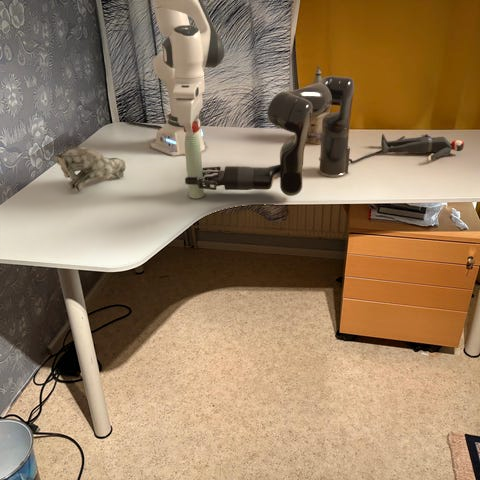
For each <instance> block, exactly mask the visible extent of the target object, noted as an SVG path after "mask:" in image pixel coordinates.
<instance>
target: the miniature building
mask: <svg viewBox="0 0 480 480" xmlns="http://www.w3.org/2000/svg"><path fill="white" fill-rule="evenodd" d="M320 67H321V66H320V65H317V66H316V68H317V69H316V71H315V72H314V75H315V76H314V79H313V81H312V83H310V84H309V85H311V84H315V83H318V82H319V81H320V80H322V79H323V78H322V71H321V70H320ZM332 106H333V105H330V107H329V108H328V110H327V111H325V112H324V113H322V114H320V115H318V116H316V117H312V121H311V125H310V129H309V133H308V137H307V141H306V143H309V144H314V145H321V135H322V120H323V117H324V116H325V115H327V114H330V113H331V108H332Z"/></svg>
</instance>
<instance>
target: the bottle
mask: <svg viewBox="0 0 480 480" xmlns="http://www.w3.org/2000/svg"><path fill="white" fill-rule="evenodd" d="M184 156H185V164H186V177H197V178H198V177H203V175H202V168H203V165H202V162H203V161H202V151H201V147H200V139H199V136H198V134H197V132H194V133H193V135H192V136H185V155H184ZM187 189H188V197H189V198H190V199H200V198H203V197H204V196H205V192H204V190H205V189H202V188H198V186H197V185H190V184H187Z"/></svg>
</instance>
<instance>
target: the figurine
mask: <svg viewBox="0 0 480 480" xmlns="http://www.w3.org/2000/svg"><path fill="white" fill-rule="evenodd" d="M54 160H55V163H57V165H59V166H60V170H61V171H62V173H63V176H64V177H65V178H67V179H68V178H69V179H70V180H71V181H70V182H69V183H68V186H69V188H70V189H71V190H76V192H77V193H81V192H82V187H84V185H85V184H87V183H88V182H90V181H92V180H94V179H96V180H108V179H109V178H111V176H113V177H118V178H124V174H125V173H124V172H125V171H126V169H127V166H126V161H125V160H124V159H121V158H118V157H111V158H110V157H106V156H104V155H103V154H102V153H100V152H98V151H97V150H95V149H93V148H89V147H83V146H72V147H69V148H67V149H65V150H64V151H63V152H58V153H57V154H56V155H55V156H54ZM76 172H78V173H76Z"/></svg>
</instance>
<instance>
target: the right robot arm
mask: <svg viewBox="0 0 480 480" xmlns="http://www.w3.org/2000/svg"><path fill="white" fill-rule="evenodd" d="M310 84H311V85H310ZM310 84H308V85H306V86H304V87H301V88H297V89H294V90H285V91H280V92H278V93H277V94H275V96H274V97H272V99H271V100H270V102H269V104H268V106H267V110H266V116H267V119H268V121H269V122H270V123H271V124H272V125H273V126H275V127H277V128H280V129H282V130H285V131H287V132H290V133H294V134H293V136H292V137H290V138H289V139H287V140H286V141H285V142H284V143H283V144H282V146H281V148H280V151H279V164H276V165H271V166H268V167H259V166H258V167H256V166H255V167H254V166H241V165H240V166H237V165H236V166H234V165H226V166H225V167H224V170H221V166H208V167H202V175H203V177H198V178H197V177H187V176H186V177H185V178H184V183H185V184H184V185H188V184H190V185H197V186H198V188H202V189H204V190H210V191H211V190H212V191H216V190H217V187H220V186H223V188H224V190H226V191H252V190H255V191H256V190H257V191H258V190H260V191H261V190H263V191H265V190H266V191H267V190H270V189H271V188H272V187H273V184H274V181H275V180H278V179H279V183H280V184H279V187H280V190H281V192H282V193H283V194H284V195H286V196H287V197H288V196H289V197H295V196H297V195H299V194H300V193H301V192H302V189H303V166H304V155H305V154H304V153H305V148H306V143H307V137H308V133H309V129H310V125H311V121H312V117H316V116H318V115H320V114H322V113H324V112H325V111H327V110H328V108H329V107H330V105H332V106H336V107H338V106H339V110H337V111H335V112H330V114H327V115H325V116H324V117H323V120H322V135H321V138H320V139H321V144H320V153H319V157H318V161H319V165H318V168H319V169H318V173H319V174H320V175H322V176H324V177H329V178H339V177H343V176H345V175H346V174H349V166H350V164H356V163H358V162H360V161H362V160H364V159H367V158H370V157H372V156H373V157H374V156H376V155H378V154H382V149H380V150H378V151H375V152H373V153H369V154H366V155H364V156H361V157H359V158H357V159H355V160H353V159H352V158H350V154H351V147H350V146H349V138H350V137H349V134H350V127H351V126H350V125H351V117H352V110H353V109H352V107H353V102H354V94H355V81H354V79H353V78H352V77H347V76H337V75H327V76H325V77H323V78H322V80H320V81H319V82H318V83H315V84H313V83H310ZM403 139H406V136H405V135H403V136H401V137H400V138H398V139H397V140H403ZM388 147H389V146H388ZM390 147H392V146H390Z"/></svg>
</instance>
